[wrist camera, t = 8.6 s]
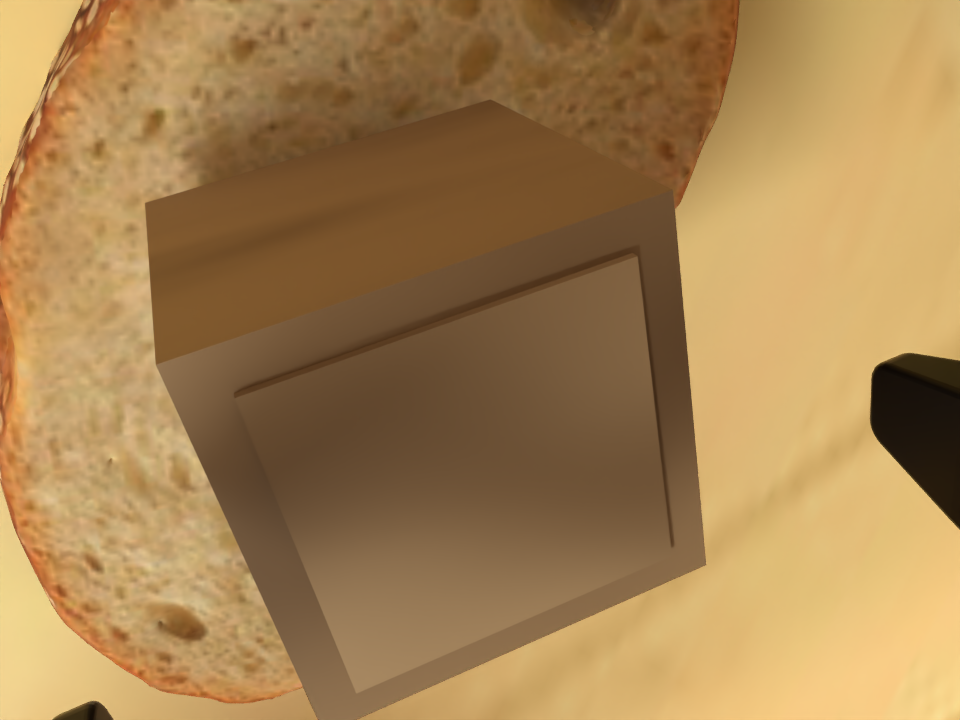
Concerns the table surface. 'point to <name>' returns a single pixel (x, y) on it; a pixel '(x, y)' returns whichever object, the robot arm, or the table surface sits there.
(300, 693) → the table surface
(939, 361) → the robot arm
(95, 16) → the slice of bread
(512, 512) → the walnut cube
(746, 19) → the table surface
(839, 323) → the table surface
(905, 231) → the table surface
